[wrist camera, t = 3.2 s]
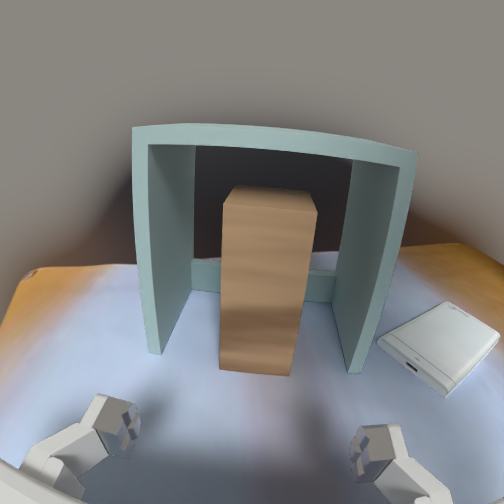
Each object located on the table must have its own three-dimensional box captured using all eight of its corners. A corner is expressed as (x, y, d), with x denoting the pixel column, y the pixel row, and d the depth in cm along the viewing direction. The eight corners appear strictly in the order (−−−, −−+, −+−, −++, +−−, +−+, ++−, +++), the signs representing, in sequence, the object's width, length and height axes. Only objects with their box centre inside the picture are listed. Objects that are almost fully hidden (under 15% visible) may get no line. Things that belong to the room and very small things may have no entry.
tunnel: (360, 373, 22) (418, 153, 15) (148, 352, 22) (132, 127, 16) (339, 298, 32) (366, 139, 25) (184, 283, 32) (185, 123, 26)
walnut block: (288, 376, 21) (317, 212, 17) (219, 369, 22) (223, 203, 17) (288, 334, 26) (308, 191, 21) (228, 328, 26) (235, 185, 21)
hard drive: (445, 299, 30) (379, 334, 25) (501, 334, 24) (451, 389, 18) (441, 311, 31) (374, 349, 25) (495, 347, 24) (441, 403, 19)
